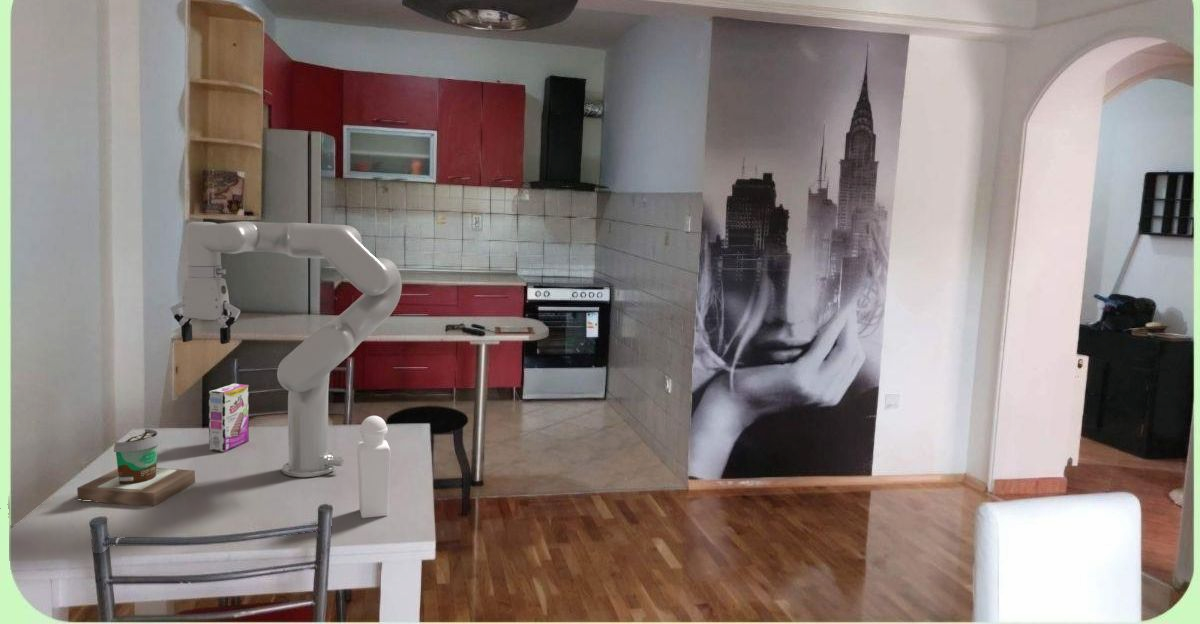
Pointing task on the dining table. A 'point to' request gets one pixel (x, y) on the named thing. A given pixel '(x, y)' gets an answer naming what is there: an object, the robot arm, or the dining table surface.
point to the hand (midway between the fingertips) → (206, 342)
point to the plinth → (137, 488)
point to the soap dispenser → (373, 468)
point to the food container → (137, 457)
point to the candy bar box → (228, 417)
